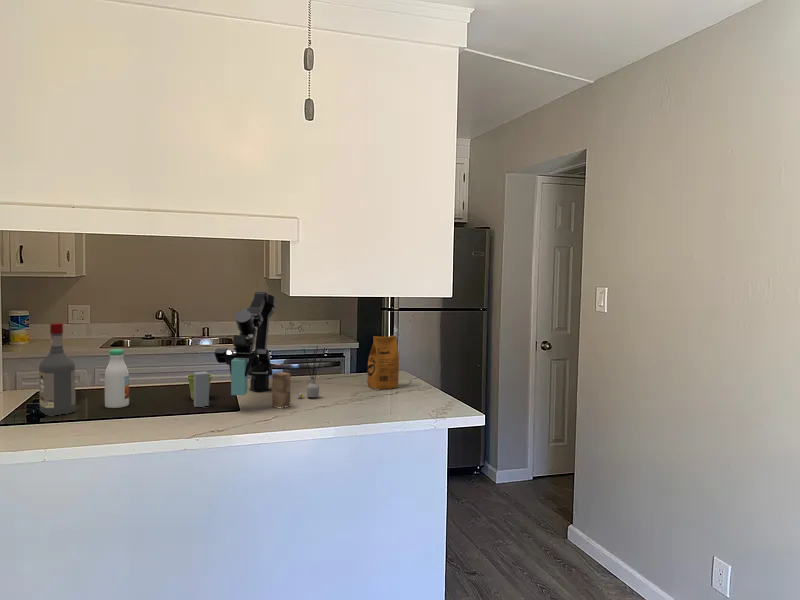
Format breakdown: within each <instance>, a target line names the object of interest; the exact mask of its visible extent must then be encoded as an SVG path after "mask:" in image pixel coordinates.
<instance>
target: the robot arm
mask: <svg viewBox="0 0 800 600" xmlns="http://www.w3.org/2000/svg"><path fill="white" fill-rule="evenodd" d="M276 307H277V299H276V298H275V296H273V295H271V294H269V293H268V292H267V291H256V292H254V296H253V299H252V301H251V304H250V306H249V307H247V308H246V307H245V308H244V307H243V308H241V310H240V311H238V312H236V314H234V319H235V322H236V327H237V330H238V331H239V334H234V335H233V338H232V339H233V340H232V345H233V350H234V351H233V350H229V349H228V348H227V347H217V348H216V349H215V351H214V353H213V354H214V356H215V359H216V362H217V363H219V364H226V365H227V366H229V374H230V375H231V361H232V360H233V359H248V364H247V367H246V370H245V377H246V376H247V375H248V376H250V377H251V378H250V379H249V380H250V382H249V383H250V387H249V388H248V389H249V390H250V391H254V392H256V393H259V392H265V391H271V390H272V388H270V376H272V374H273V366H272V364H271V354H270V350H269V349H267V347H268V346H267V345H268V338H269V337H268V336H269V328H270V327H269V326H270V318H271V317H272V316H273V314H274V313H275V308H276ZM254 345H255V346H254Z"/></svg>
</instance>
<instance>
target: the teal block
mask: <svg viewBox="0 0 800 600" xmlns="http://www.w3.org/2000/svg"><path fill="white" fill-rule="evenodd" d="M248 360H249V359H237V358H234V359H233V360H232V361H231V374H230V383H231V386H230V390H231V391H230V395H231V396H245V395H246V394H247V393H248V381H249V380H248V376H249V375H247V376H246V377H245V370H246V367H247V364H248Z"/></svg>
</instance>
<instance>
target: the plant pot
mask: <svg viewBox="0 0 800 600" xmlns="http://www.w3.org/2000/svg"><path fill="white" fill-rule="evenodd" d="M213 376H214V375H213V374H212V373H209V390H210V388H211V381H212V378H213ZM186 379H187V381H188V385H189V392H190V398H191V400H193V401H194V373H192V374H188V375H186Z"/></svg>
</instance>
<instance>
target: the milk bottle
mask: <svg viewBox="0 0 800 600" xmlns="http://www.w3.org/2000/svg"><path fill="white" fill-rule="evenodd" d="M124 353H125V350H124V349H123V348H122V349H121V348H115V349H110V350H109V354H108V355H109V362H108V364H107V367H106V368H105V371H104V373H105V374H104V407H105V408H108V409H117V408H118V409H119V408H125V407H128V406H129V404H130V378H129V377H130V376H129V369H128V367H127V365H126V363H125V360H124V356H125V355H124Z"/></svg>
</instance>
